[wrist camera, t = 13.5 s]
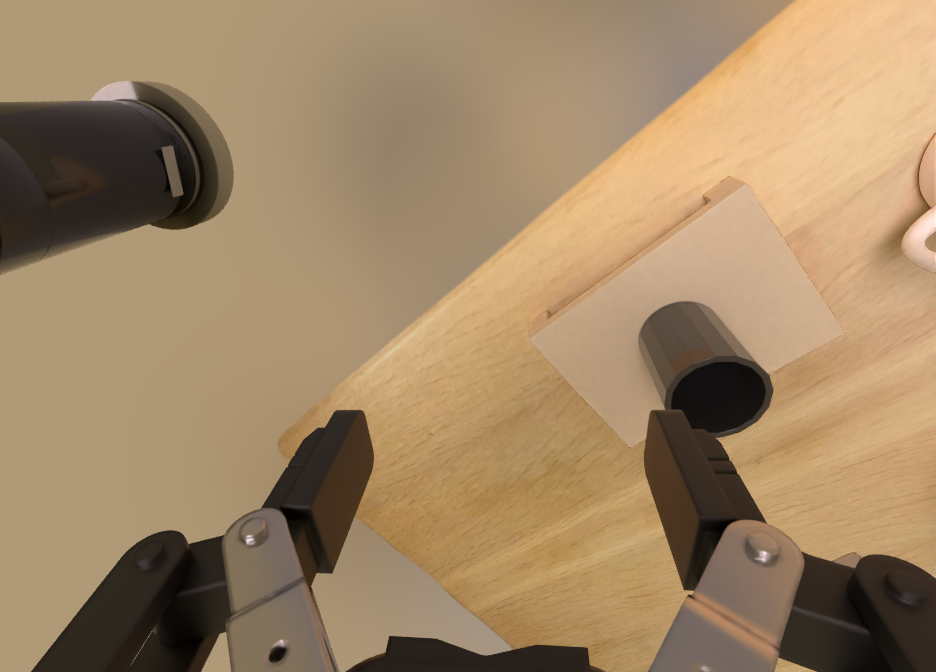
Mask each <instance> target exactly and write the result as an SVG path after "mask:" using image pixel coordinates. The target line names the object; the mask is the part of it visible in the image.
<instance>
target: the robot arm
mask: <svg viewBox="0 0 936 672" xmlns="http://www.w3.org/2000/svg"><path fill="white" fill-rule="evenodd" d="M203 184H204V172H203V165H202V161H201V158H200V155H199V152H198V150H197V148H196V145H195V144H194V142H193V140H192V138H191V137H190V135H189V134H188V132H187V131H186V130H185V128H184V127H183V126H182V125H181V124H180V123H179V122H178V121H177V120H176V119H175V118H174V117H173V116H172V115H171V114H169V113H168V112H167V111H165V110H164V109H162V108H160V107H159V106H157V105H155V104H152V103H150V102H147V101H144V100H139V99H117V100H112V101H53V102H52V101H51V102H2V103H1V102H0V275H2V274H5V273H7V272H10V271H13V270H16V269H19V268H22V267H25V266H28V265H30V264H33V263H36V262H39V261H41V260H45V259H47V258H51V257H53V256H56V255H59V254H62V253H65V252H68V251H71V250H74V249H77V248H80V247H83V246H86V245H88V244H91V243H94V242H97V241H100V240H103V239H106V238H109V237H112V236H115V235H118V234H121V233H123V232H126V231H129V230H132V229H135V228H138V227H141V226H144V225H147V224H150V223H153V222H156V221H159V220H162V219H165V218H171V217H175V216H178V215H181V214H183V213H185V212H187V211H189V210H190V209H191V208H192V207H193V206H195V204H196V203H197V202H198V200H199V198H200V196H201V193H202V190H203ZM373 462H374V453H373V447H372V443H371V439H370V434H369V430H368V426H367V421H366V417H365V414H364V412H363V411H362V410H337V411H335V412H334V413H333V415H332V417H331V418H330V420H329V422H328V424H327V425H326V427H325V428H317V429H316V430H315V431H313V432H312V433H311V434H310V435H309V436H307V437H306V438H305V439H304V440H303V441H302V443H301V445H300V446H299V448H298V450H297V451H296V453H295V456H293V458H292V459H291V461H290V462H289V464H288V467H287V468H286V469H285V471H284V472H283V474H282V475H281V477H280V479H279V480H278V482H277V483H276V485H275V487H274V488H273V490H272V492H271V493H270V495H269V496H268V498H267V500H266V501H265V503H264V505H263V506H262V508H261V509H259V510H255V511H252V512H250V513H248V514H246V515H244V516H242V517H241V518H239V519H238V520H237V521H236V522H234V523H233V524H232V525H231V526H230V528H229V529H228V530H227V532H226V533H225V535H223V536H219V537H215V538H211V539H207V540H203V541H200V542H195V543H191V544H188V542H187V540H186V538H185V537H184V535H183V534H182V533H180V532H178V531H172V530H169V531H162V532H158V533H155V534H153V535H151V536H148V537H146V538H145V539H143V540H141V541H139V542H138V543H136V544H135V545H134V546H133V547H131V548H130V549H129V550H128V551H127V552H126V553H125V554H124V555H123V556H122V557H121V559H120V560H119V561H118V562H117V564H116V565H115V566H114V568H113V569H112V570H111V571H110V573H109V574H108V575H107V576H106V578H105V579H104V580H103V581H102V583H101V584H100V585H99V586H98V588H97V589H96V590H95V592H94V593H93V594H92V596H91V597H90V598H89V599H88V601H87V602H86V603H85V604H84V605H83V607H82V608H81V609H80V610H79V612H78V613H77V614H76V616H75V617H74V618H73V619H72V621H71V622H70V623H69V624H68V626H67V627H66V628H65V630H64V631H63V632H62V633H61V635H60V636H59V637H58V638H57V640H56V641H55V642H54V644H53V645H52V646H51V647H50V648H49V650H48V651H47V652H46V654H45V655H44V656H43V657H42V659H41V660H40V661H39V662H38V664H37V665H36V666H35V667H34V669H33V670H32V671H31V672H201V671H202V668H203V666H204V664H205V662H206V660H207V658H208V656H209V654H210V652H211V650H212V648H213V646H214V644H215V642H216V640H217V638H218V636H219V634H220V633H223V632H226V633H227V641H228V649H229V657H230V664H231V672H340V671H339V668H338V666H337V663H336V660H335V657H334V654H333V651H332V648H331V645H330V642H329V639H328V636H327V633H326V630H325V627H324V624H323V621H322V618H321V614H320V611H319V608H318V605H317V602H316V599H315V596H314V593H313V590H312V587H311V585H312V582H313V580H314V578H315V575H316V573H333V570H334V568H335V565H336V563H337V560H338V557H339V555H340V552H341V549H342V547H343V545H344V542H345V540H346V537H347V534H348V532H349V529H350V526H351V524H352V521H353V519H354V516H355V514H356V511H357V509H358V506H359V503H360V501H361V498H362V496H363V493H364V491H365V488H366V485H367V483H368V480H369V478H370V475H371V472H372V469H373ZM644 466H645V473H646V477H647V480H648V483H649V486H650V489H651V492H652V495H653V498H654V501H655V504H656V507H657V510H658V513H659V516H660V519H661V522H662V525H663V528H664V531H665V534H666V537H667V540H668V543H669V546H670V549H671V552H672V555H673V558H674V561H675V564H676V567H677V570H678V573H679V576H680V579H681V583H682V586H683V589H684V590H692V591H694V593H693V594H692V595H690V594H689V595H688V596H687V597H686V599H685V601H684V602H683V604H682V606H681V608H680V610H679V612H678V614H677V616H676V618H675V620H674V622H673V624H672V626H671V628H670V630H669V632H668V633H667V635H666V637H665V639H664V641H663V643H662V645H661V647H660V649H659V651H658V653H657V655H656V657H655V659H654V661H653V663H652V665H651V667H650V669H649V671H648V672H774V671H775V667H776V664H777V661H778V657H779V658H781V659H784V660H787V661H790V662H792V663H795V664H798V665H800V666H803V667H806V668H809V669H811V670H814V671H817V672H936V579H935V578H934V577H933V576H931V575H930V574H929V573H927V572H926V571H924V570H923V569H921V568H919V567H917V566H915V565H913V564H911V563H909V562H907V561H905V560H902V559H899V558H896V557H892V556H887V555H868V556H865V557H863V558H862V559H860V560H859V562H858V563H857V565H856V567H855V568H853V567H849V566H846V565H842V564H838V563H835V562H831V561H828V560H824V559H821V558H817V557H814V556H811V555H808V554H806V553H804V552H801V551H800V549H799V547H798V546H797V545H796V543H795V542H794V541H793V540H792V539H791V538H790V537H788V536H787V535H786V534H785V533H783V532H782V531H780V530H779V529H777V528H775V527H773V526H771V525H768V524H767V523H766V521H765V519H764V517H763V516H762V514H761V512H760V510H759V509H758V507H757V505H756V503H755V502H754V500H753V498H752V497H751V495H750V493H749V491H748V490H747V488H746V486H745V484H744V483H743V481H742V479H741V477H740V476H739V474H737V470H736V469H735V467H734V465H733V463H732V462H731V461H730V460H729V457H728V455H727V453H726V451H725V450H724V448H723V446H722V444H721V443H720V442H719V441H718V440H717V439H716V438H714V437H713V436H712V435H711V434H710V433H708V432H707V431H706V430H705V429H692V428H691V426H690V424H689V422H688V420H687V418H686V416H685V414H684V412H683V411H682V410H651V411H650V414H649V420H648V428H647V436H646V443H645V451H644ZM151 631H152V633H151ZM150 633H151V634H150ZM149 634H150V636H149ZM148 636H149V638H148ZM147 638H148V639H147ZM146 639H147V641H146ZM145 641H146V642H145ZM144 643H145V644H144ZM143 644H144V646H143ZM142 646H143V648H142V649H141V647H142ZM140 649H141V651H140ZM139 651H140V652H139ZM138 652H139V654H138ZM137 654H138V655H137ZM136 655H137V657H136ZM135 657H136V659H135ZM134 659H135V660H134ZM133 660H134V662H133ZM132 662H133V663H132ZM131 664H132V665H131ZM346 672H606V671H604V670H602V669H599V668H597V667H594V666H591V665H590V664H589V655H588V648H584V647H567V646H550V645H533V646H529V647H524V648H520V649H516V650H511V651H507V652H502V653H498V654H493V655H488V656H484V655H480V654H477V653H474V652H471V651H468V650H466V649H463V648H460V647H458V646H455V645H452V644H449V643H447V642H444V641H441V640H438V639H432V638H413V637H398V636H389V640H388V644H387V648H386V653H383V654H379V655H376V656H374V657H371V658H368V659H366V660H364V661H362V662H360V663H358V664H356V665H355V666H353V667H352V668H351V669H349V670H347V671H346Z"/></svg>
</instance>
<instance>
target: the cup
mask: <svg viewBox="0 0 936 672" xmlns="http://www.w3.org/2000/svg"><path fill="white" fill-rule="evenodd" d="M919 186H920V190H921V193H922V195H923V198H924V199H925V201H926V202H927V204H928V205H929V206H930V207H931V209H930V210H929V211H927V212H926V213H925V214H923V215H922V216H921V217H920V218H919V219H918V220H916V221H915V222H914V223H913V224H912V225H911V226H910V228H909V229H908V230H907V231H906V233H905V235H904V237H903V240H902V244H901V248H902V251H903V254H904V256H905V257H906V258H907V259H908V260H909V261H910V262H912V263H913V264H915V265H917V266H919V267H921V268H923V269H925V270H928V271H931V272H935V273H936V253H935V252H933V251H931V250H929V249H928V248H927V247H926V246H925V241H926V240H927V238H928V237H929V236H930V235H931V234H933V233H934V232H935V231H936V135H935V136H934V137H933V139H932V140H931V142H930V144H929V145H928V147H927V149H926V151H925V153H924V156H923V158H922V161H921V165H920V170H919Z"/></svg>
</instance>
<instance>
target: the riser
mask: <svg viewBox="0 0 936 672" xmlns="http://www.w3.org/2000/svg"><path fill="white" fill-rule="evenodd" d="M703 196H704V198H705V199H706V201H707V202H708V204H706V205H705V206H703V207H702V208H701V209H699V210H698V211H696V212H695V213H694V214H692V215H691V216H690V217H688V218H687V219H685V220H684V221H683V222H681V223H680V224H678V225H677V226H676V227H674V228H673V229H672V230H670V231H669V232H667V233H666V234H665V235H663V236H662V237H661V238H659V239H658V240H656V241H655V242H654V243H652V244H651V245H649V246H648V247H647V248H645V249H644V250H643V251H641V252H640V253H638V254H637V255H636V256H634V257H633V258H631V259H630V260H629V261H627V262H626V263H625V264H623V265H622V266H620V267H619V268H618V269H616V270H615V271H613V272H612V273H611V274H609V275H608V276H607V277H605V278H604V279H602V280H601V281H600V282H598V283H597V284H596V285H594V286H593V287H591V288H590V289H589V290H587V291H586V292H584V293H583V294H582V295H580V296H579V297H578V298H576V299H575V300H573V301H572V302H571V303H569V304H568V305H566V306H565V307H564V308H562V309H561V310H560V311H558V312H557V313H555V314H554V315H553V316H551V315H550V313H549V312H548V311H547V310H546V311H544V312H543V313H542V314H540V315H539V316H538V317H536V318H535V319H534V320H532V321H531V322H529V323H528V341H529V342H530V343H531V344H532V345H533V346H534V347H535V348H536V349H537V350H538V351H539V352H540V353H541V354H542V355H543V357H544V358H545V359H546V360H547V361H548V362H549V363H550V364H551V365H552V366H553V367H554V368H555V369H556V370H557V371H558V372H559V374H560V375H561V376H562V377H563V378H564V379H565V380H566V381H567V382H568V383H569V384H570V385H571V386H572V387H573V388H574V390H575V391H576V392H577V393H578V394H579V395H580V396H581V397H582V398H583V399H584V400H585V401H586V402H587V403H588V404H589V405H590V407H591V408H592V409H593V410H594V411H595V412H596V413H597V414H598V415H599V416H600V417H601V418H602V419H603V420H604V421H605V422H606V424H607V425H608V426H609V427H610V428H611V429H612V430H613V431H614V432H615V433H616V434H617V435H618V436H619V437H620V438H621V439H622V441H623V442H624V443H625V444H626V445H627V446H628V447H629V448H631V447H633V446H635V445H637V444H639V443H641V442H643V441H644V440H646V436H647V428H648V420H649V414H650V411H651V410H665V408H664V406H663V404H662V401H661V399H660V397H659V394H658V392H657V390H656V387H655V385H654V383H653V380H652V378H651V376H650V373H649V371H648V368H647V366H646V364H645V361H644V359H643V357H642V354H641V352H640V349H639V343H638V339H639V333H640V330H641V328H642V326H643V324H644V322H645V321H646V320H647V319H648V317H649V316H650V315H651V314H653V313H654V312H655V311H656V310H658V309H660V308H661V307H663V306H665V305H668V304H671V303H674V302H680V301H693V302H698V303H702V304H704V305H706V306H708V307H710V308H711V309H712V310H713V311H715V313H716V314H717V315H718V316H719V317H720V318H721V319H722V320H723V321H724V322H725V323H726V325H727V326H728V327H729V328H730V329H731V330H732V332H733V333H734V334H735V335H736V336H737V338H738V339H739V340H740V341H741V342H742V343H743V345H744V346H745V347H746V348H747V349H748V351H749V352H750V353H751V354H752V355H753V356H754V358H755V359H756V360H757V361H758V362H759V363H760V365H761V366H762V367H763V368H764V369H765V371H766V372H767V373H768V374H770V373H772V372H774V371H776V370H778V369H780V368H781V367H783V366H785V365H787V364H789V363H791V362H793V361H795V360H796V359H798V358H800V357H802V356H804V355H806V354H808V353H810V352H811V351H813V350H815V349H817V348H819V347H821V346H823V345H825V344H826V343H828V342H830V341H832V340H834V339H836V338H838V337H840V336H841V335H843V334H845V331H844V330H843V328H842V326H841V325H840V323H839V322H838V320H837V319H836V317H835V316H834V314H833V313H832V311H831V310H830V308H829V307H828V305H827V304H826V302H825V301H824V299H823V298H822V296H821V295H820V293H819V292H818V290H817V289H816V287H815V285H814V284H813V282H812V281H811V279H810V278H809V276H808V275H807V273H806V272H805V270H804V269H803V267H802V266H801V264H800V263H799V261H798V260H797V258H796V257H795V255H794V254H793V252H792V251H791V249H790V248H789V246H788V245H787V243H786V241H785V240H784V238H783V237H782V235H781V234H780V232H779V231H778V229H777V228H776V226H775V225H774V223H773V222H772V220H771V219H770V217H769V216H768V214H767V213H766V211H765V210H764V208H763V207H762V205H761V204H760V202H759V201H758V199H757V197H756V196H755V194H754V193H753V191H752V190H751V188H750V187H749V185H748V184H747V183H745V182H743V181H740V180H738V179H735V178H733V177H731V176H728V177H727V178H726V179H724V180H723V181H722V182H720V183H719V184H718V185H716V186H715V187H713V188H712V189H711V190H709V191H708V192H707V193H705V194H704V195H703Z"/></svg>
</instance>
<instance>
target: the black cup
mask: <svg viewBox="0 0 936 672" xmlns="http://www.w3.org/2000/svg"><path fill="white" fill-rule="evenodd" d="M638 343H639V349H640V352H641V354H642V357H643V359H644V361H645V364H646V366H647V368H648V371H649V373H650V376H651V378H652V380H653V383H654V385H655V387H656V390H657V392H658V394H659V397H660V399H661V401H662V404H663V406H664V408H665V410H682V411H683V412H684V414H685V416H686V418H687V420H688V422H689V424H690V426H691V428H692V429H705V430H706V431H707V432H708V433H710V434H711V435H712V436H713V437H714V438H721V437H724V436H728V435H732V434H735V433H739V432H741V431H743V430H744V429H746V428H748V427H749V426H751V425H752V424H754V423H756V422H757V421H758V420H759V419H760V418H761V416H762V415H763V414H764V413H765V411H766V410H767V409H768V408H769V405H770V402H771V398H772V394H773V387H772V383H771V380H770V376H769V374H768V373H767V372H766V371H765V369H764V368H763V367H762V366H761V365H760V363H759V362H758V361H757V360H756V359H755V358H754V356H753V355H752V354H751V353H750V352H749V351H748V349H747V348H746V347H745V346H744V345H743V343H742V342H741V341H740V340H739V339H738V338H737V336H736V335H735V334H734V333H733V332H732V330H731V329H730V328H729V327H728V326H727V325H726V323H725V322H724V321H723V320H722V319H721V318H720V317H719V316H718V315H717V314H716V313H715V311H713V310H712V309H711V308H710V307H708V306H706V305H704V304H702V303H698V302H693V301H680V302H674V303H671V304H668V305H665V306H663V307H661V308H660V309H658V310H656V311H655V312H654V313H653V314H651V315H650V316H649V317H648V319H647V320H646V321H645V322H644V324H643V326H642V328H641V330H640V333H639V339H638Z"/></svg>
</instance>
